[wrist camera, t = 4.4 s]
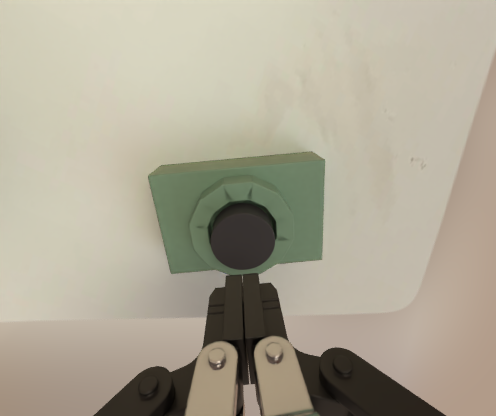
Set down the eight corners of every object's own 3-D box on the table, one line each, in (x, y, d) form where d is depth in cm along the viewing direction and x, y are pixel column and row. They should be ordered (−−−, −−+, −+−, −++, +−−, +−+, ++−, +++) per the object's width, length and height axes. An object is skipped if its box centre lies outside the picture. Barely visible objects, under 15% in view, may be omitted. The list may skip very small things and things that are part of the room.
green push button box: (312, 151, 20) (334, 165, 16) (311, 240, 23) (330, 274, 19) (160, 165, 20) (137, 183, 16) (179, 252, 23) (164, 289, 19)
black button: (270, 199, 17) (273, 210, 15) (273, 252, 18) (276, 267, 17) (209, 205, 17) (205, 216, 15) (216, 258, 18) (214, 273, 17)
